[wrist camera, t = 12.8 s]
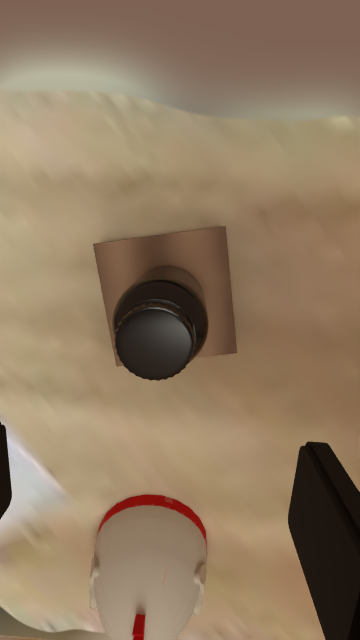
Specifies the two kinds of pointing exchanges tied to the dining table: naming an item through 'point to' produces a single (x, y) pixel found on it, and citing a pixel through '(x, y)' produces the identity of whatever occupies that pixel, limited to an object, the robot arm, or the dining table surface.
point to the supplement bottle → (160, 323)
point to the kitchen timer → (148, 568)
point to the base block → (181, 251)
